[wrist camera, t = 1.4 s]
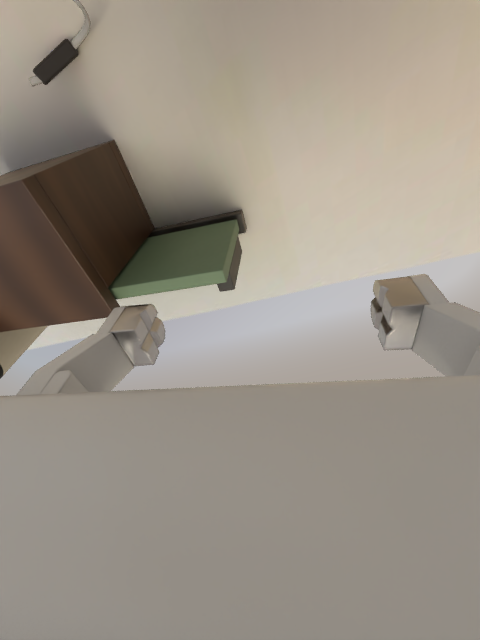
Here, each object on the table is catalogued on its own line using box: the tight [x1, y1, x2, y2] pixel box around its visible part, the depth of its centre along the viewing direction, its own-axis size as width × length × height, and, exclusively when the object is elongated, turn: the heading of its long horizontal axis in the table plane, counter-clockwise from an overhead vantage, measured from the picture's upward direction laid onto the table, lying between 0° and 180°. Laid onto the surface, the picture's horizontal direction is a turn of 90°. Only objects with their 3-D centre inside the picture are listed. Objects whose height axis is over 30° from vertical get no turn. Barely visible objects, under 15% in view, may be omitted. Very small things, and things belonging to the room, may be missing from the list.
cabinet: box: [0, 140, 247, 332], centre depth 26 cm, size 24×11×13 cm, turn 104°
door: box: [108, 220, 242, 299], centre depth 28 cm, size 12×3×10 cm, turn 104°
